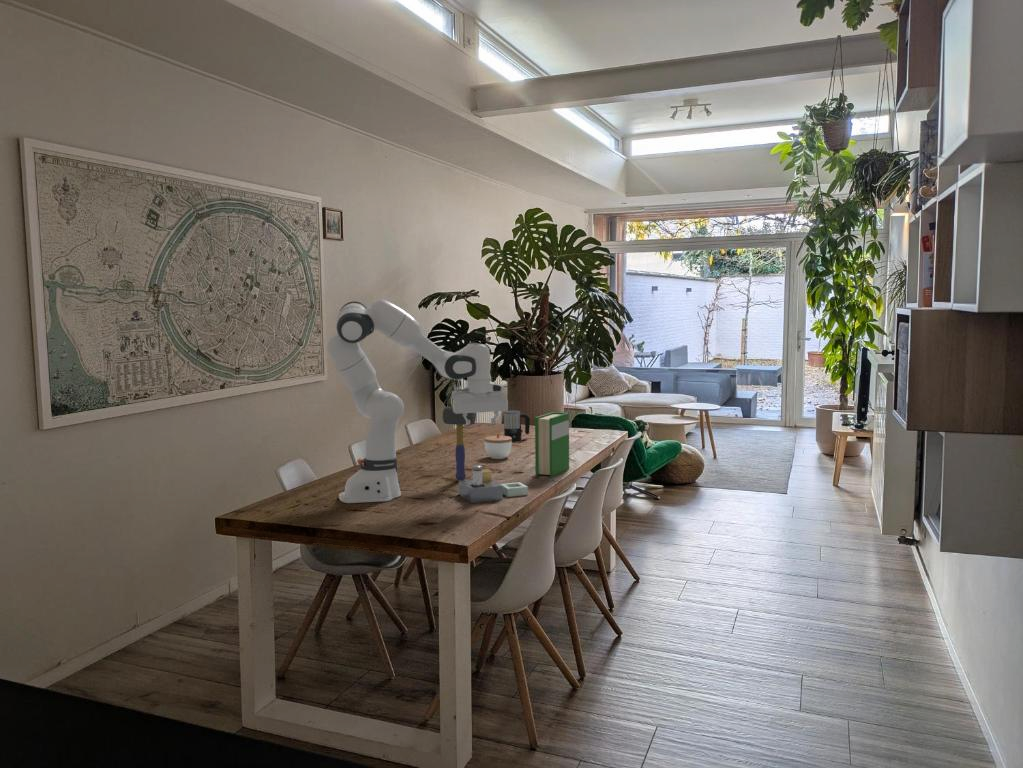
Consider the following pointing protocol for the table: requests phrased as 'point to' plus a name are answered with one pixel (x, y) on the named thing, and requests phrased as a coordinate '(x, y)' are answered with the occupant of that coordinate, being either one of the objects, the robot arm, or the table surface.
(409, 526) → the table surface
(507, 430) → the milk frother
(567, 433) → the hardback book
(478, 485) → the metal cylindrical peg
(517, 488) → the pale green square frame
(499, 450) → the lidded bowl
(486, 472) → the gold rectangular block
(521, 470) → the table surface
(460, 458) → the rubber mallet
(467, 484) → the socket block
